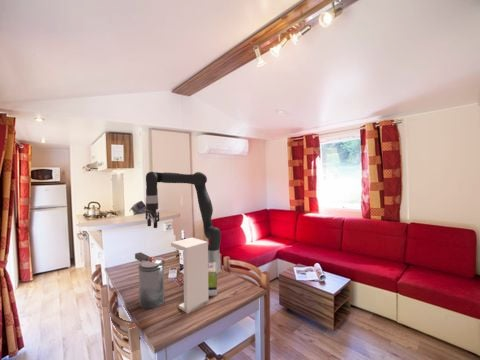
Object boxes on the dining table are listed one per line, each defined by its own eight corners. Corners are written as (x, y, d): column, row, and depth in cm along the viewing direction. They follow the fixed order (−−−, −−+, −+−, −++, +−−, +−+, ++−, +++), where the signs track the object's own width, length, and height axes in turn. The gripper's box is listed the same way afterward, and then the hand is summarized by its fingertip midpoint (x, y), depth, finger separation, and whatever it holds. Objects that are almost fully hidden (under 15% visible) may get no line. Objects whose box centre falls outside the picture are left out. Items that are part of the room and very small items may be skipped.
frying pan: (182, 255, 204) (182, 248, 204) (189, 259, 194) (188, 252, 194) (145, 264, 185) (145, 256, 185) (150, 269, 174) (150, 261, 174)
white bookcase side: (171, 302, 126) (171, 242, 126) (192, 293, 137) (191, 237, 136) (187, 313, 116) (186, 247, 116) (208, 302, 127) (207, 241, 126)
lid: (128, 260, 135) (128, 253, 135) (146, 255, 143) (146, 248, 143) (146, 270, 119) (146, 262, 119) (165, 264, 127) (165, 257, 127)
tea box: (201, 284, 148) (201, 262, 148) (217, 284, 149) (217, 261, 148) (199, 296, 133) (199, 271, 133) (217, 296, 134) (216, 271, 133)
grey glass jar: (162, 293, 136) (162, 259, 136) (166, 305, 124) (166, 267, 124) (138, 299, 130) (137, 263, 130) (139, 312, 118) (139, 272, 118)
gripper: (141, 202, 150) (141, 226, 150) (151, 203, 140) (152, 229, 140) (152, 201, 155) (152, 224, 155) (162, 202, 146) (163, 227, 146)
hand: (152, 227), depth 148 cm, fingers open, 8 cm apart
